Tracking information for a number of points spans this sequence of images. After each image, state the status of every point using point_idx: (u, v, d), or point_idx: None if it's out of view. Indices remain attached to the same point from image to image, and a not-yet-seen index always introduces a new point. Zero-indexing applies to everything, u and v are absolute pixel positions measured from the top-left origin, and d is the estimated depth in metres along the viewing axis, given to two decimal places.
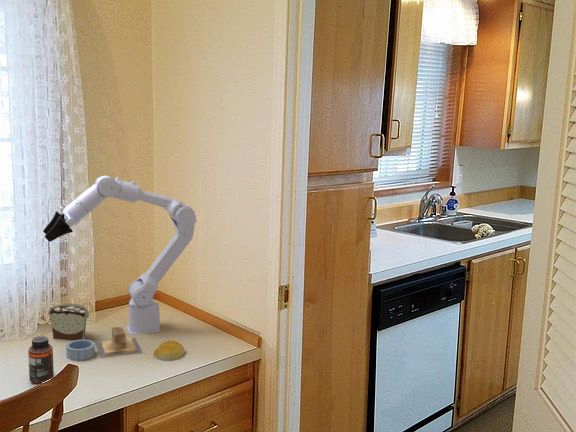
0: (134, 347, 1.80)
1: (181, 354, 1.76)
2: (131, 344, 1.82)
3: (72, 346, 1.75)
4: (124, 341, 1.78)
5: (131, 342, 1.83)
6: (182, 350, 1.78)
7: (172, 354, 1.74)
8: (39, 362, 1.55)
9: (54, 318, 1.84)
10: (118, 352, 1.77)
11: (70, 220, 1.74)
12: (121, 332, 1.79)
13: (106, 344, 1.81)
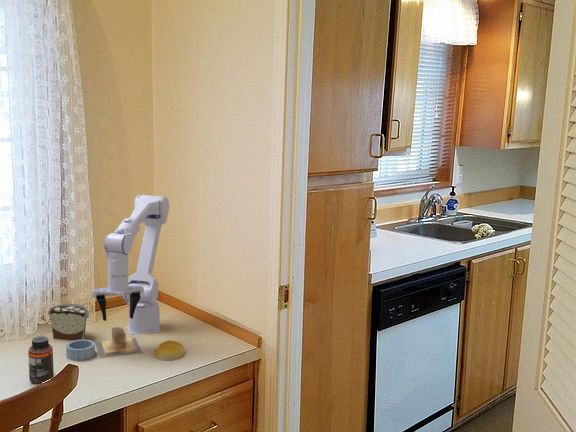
0: (134, 347, 1.80)
1: (181, 354, 1.77)
2: (131, 344, 1.82)
3: (72, 346, 1.75)
4: (124, 341, 1.78)
5: (131, 342, 1.83)
6: (182, 350, 1.78)
7: (172, 354, 1.74)
8: (39, 362, 1.55)
9: (54, 318, 1.84)
10: (118, 352, 1.77)
11: None
12: (121, 332, 1.79)
13: (106, 344, 1.81)
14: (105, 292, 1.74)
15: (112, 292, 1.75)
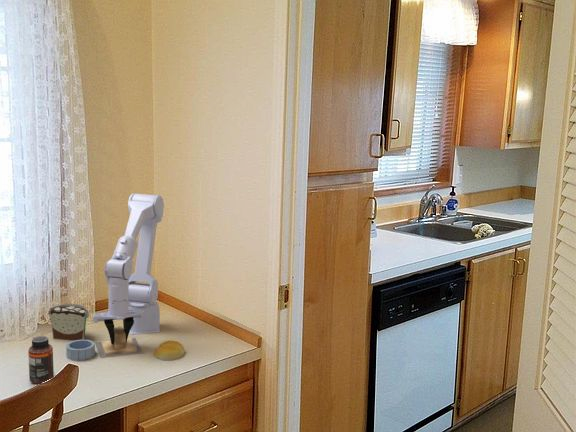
0: (134, 347, 1.80)
1: (181, 354, 1.77)
2: (131, 344, 1.82)
3: (72, 346, 1.75)
4: (124, 341, 1.78)
5: (131, 342, 1.83)
6: (182, 350, 1.78)
7: (173, 354, 1.74)
8: (39, 362, 1.55)
9: (54, 318, 1.84)
10: (118, 352, 1.77)
11: None
12: (121, 332, 1.79)
13: (106, 344, 1.81)
14: (106, 317, 1.76)
15: (113, 317, 1.76)
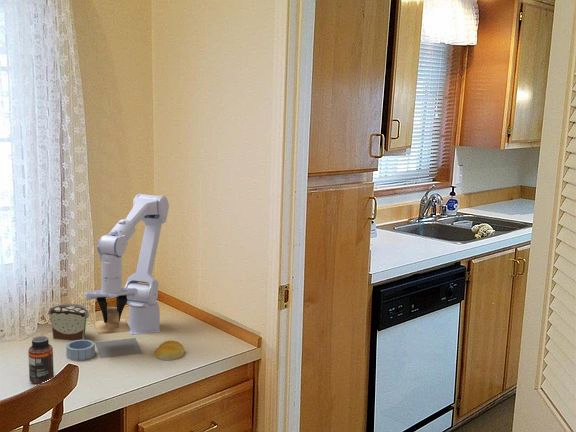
0: (127, 327, 1.77)
1: (181, 354, 1.77)
2: (124, 324, 1.79)
3: (72, 346, 1.75)
4: (117, 321, 1.76)
5: (124, 322, 1.81)
6: (182, 350, 1.78)
7: (173, 354, 1.74)
8: (39, 362, 1.55)
9: (54, 318, 1.84)
10: (111, 331, 1.74)
11: None
12: (115, 311, 1.76)
13: (99, 324, 1.78)
14: (99, 295, 1.73)
15: (106, 294, 1.73)
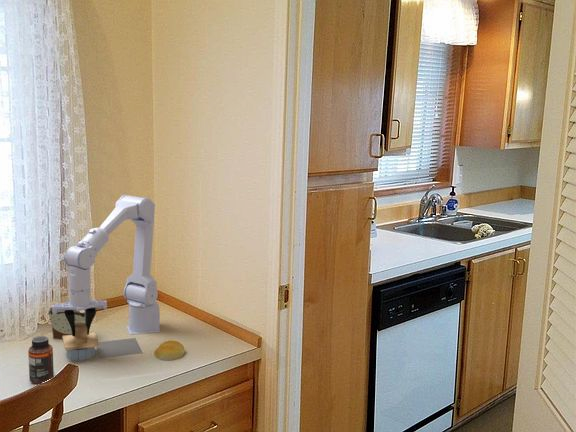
0: (96, 342, 1.72)
1: (182, 354, 1.77)
2: (93, 339, 1.74)
3: None
4: (86, 335, 1.71)
5: (94, 337, 1.76)
6: (182, 350, 1.78)
7: (173, 354, 1.74)
8: (39, 362, 1.55)
9: (54, 318, 1.84)
10: (79, 347, 1.69)
11: (106, 303, 1.74)
12: (83, 326, 1.72)
13: (67, 339, 1.73)
14: (66, 308, 1.69)
15: (73, 307, 1.69)
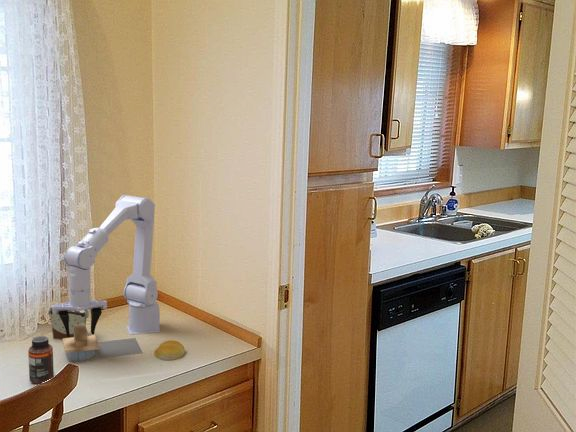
0: (96, 344, 1.72)
1: (182, 354, 1.77)
2: (93, 341, 1.75)
3: None
4: (86, 338, 1.71)
5: (94, 339, 1.76)
6: (182, 350, 1.78)
7: (173, 354, 1.74)
8: (39, 362, 1.55)
9: (54, 318, 1.84)
10: (79, 350, 1.69)
11: (106, 303, 1.74)
12: (83, 329, 1.72)
13: (67, 341, 1.74)
14: (66, 308, 1.69)
15: (73, 308, 1.69)
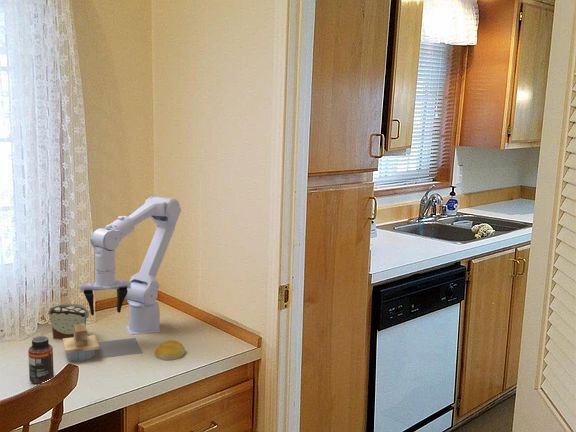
0: (96, 344, 1.72)
1: (182, 354, 1.77)
2: (93, 341, 1.75)
3: None
4: (86, 338, 1.71)
5: (94, 339, 1.76)
6: (183, 350, 1.78)
7: (173, 354, 1.74)
8: (39, 362, 1.55)
9: (54, 318, 1.84)
10: (79, 350, 1.69)
11: (130, 283, 1.83)
12: (83, 329, 1.72)
13: (67, 341, 1.74)
14: (92, 287, 1.78)
15: (99, 287, 1.78)
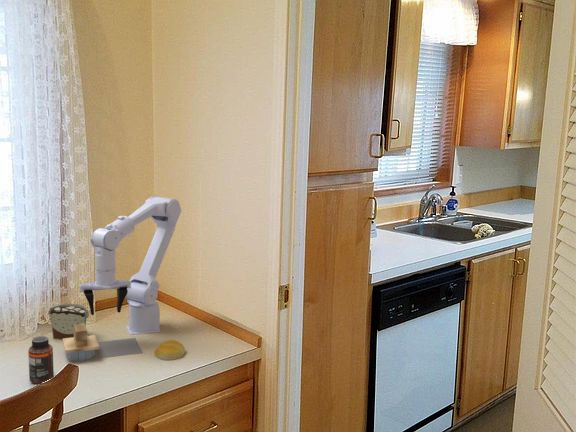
0: (96, 344, 1.72)
1: (182, 354, 1.77)
2: (93, 341, 1.75)
3: None
4: (86, 338, 1.71)
5: (94, 339, 1.76)
6: (183, 350, 1.78)
7: (173, 354, 1.74)
8: (39, 362, 1.55)
9: (54, 318, 1.84)
10: (79, 350, 1.69)
11: (130, 283, 1.83)
12: (83, 329, 1.72)
13: (67, 341, 1.74)
14: (93, 287, 1.78)
15: (99, 287, 1.78)
